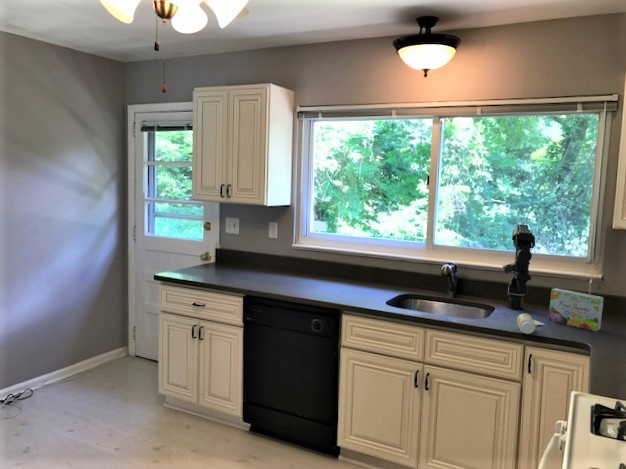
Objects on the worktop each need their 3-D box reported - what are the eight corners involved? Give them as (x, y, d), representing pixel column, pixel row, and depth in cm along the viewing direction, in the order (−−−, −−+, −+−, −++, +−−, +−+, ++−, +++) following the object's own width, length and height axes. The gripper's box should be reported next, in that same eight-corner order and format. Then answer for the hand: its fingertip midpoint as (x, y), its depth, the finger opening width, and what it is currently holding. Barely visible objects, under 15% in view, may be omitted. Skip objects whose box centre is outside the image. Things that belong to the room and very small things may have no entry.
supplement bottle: (521, 330, 239) (524, 338, 226) (513, 316, 239) (516, 324, 227) (535, 323, 237) (539, 332, 224) (528, 310, 237) (531, 318, 225)
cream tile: (535, 321, 249) (535, 320, 249) (544, 325, 244) (544, 323, 244) (524, 322, 247) (524, 320, 247) (533, 325, 242) (533, 324, 242)
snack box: (547, 320, 252) (550, 289, 250) (552, 318, 256) (555, 287, 254) (596, 332, 237) (600, 298, 235) (600, 329, 241) (604, 296, 239)
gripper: (503, 254, 264) (500, 286, 266) (506, 260, 247) (503, 294, 248) (527, 256, 262) (524, 288, 264) (532, 262, 244) (529, 296, 246)
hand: (519, 291), depth 255 cm, fingers closed
